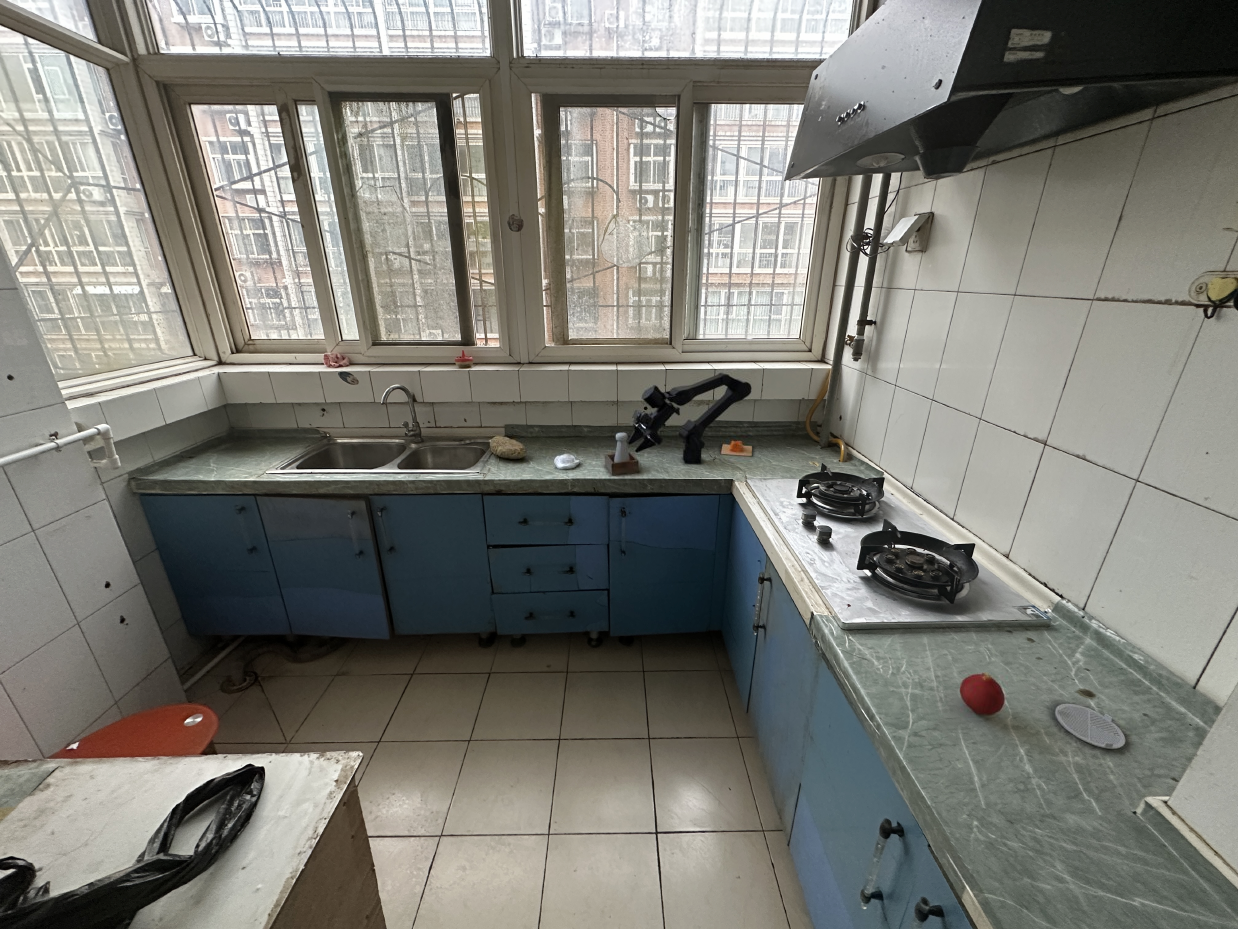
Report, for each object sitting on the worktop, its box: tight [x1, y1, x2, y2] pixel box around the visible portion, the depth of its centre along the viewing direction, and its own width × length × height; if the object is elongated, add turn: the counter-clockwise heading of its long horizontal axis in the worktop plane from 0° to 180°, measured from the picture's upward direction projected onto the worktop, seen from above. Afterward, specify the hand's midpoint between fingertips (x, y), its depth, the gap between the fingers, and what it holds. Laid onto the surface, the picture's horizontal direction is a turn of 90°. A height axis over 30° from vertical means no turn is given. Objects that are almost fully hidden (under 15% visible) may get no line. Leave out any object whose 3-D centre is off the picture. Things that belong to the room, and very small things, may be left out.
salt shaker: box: [614, 432, 630, 462], centre depth 183 cm, size 6×6×13 cm
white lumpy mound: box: [553, 453, 581, 470], centre depth 189 cm, size 10×4×10 cm
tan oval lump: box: [489, 435, 527, 460], centre depth 199 cm, size 13×8×20 cm
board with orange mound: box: [720, 440, 753, 457], centre depth 203 cm, size 12×12×4 cm
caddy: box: [604, 451, 640, 476], centre depth 185 cm, size 10×10×5 cm
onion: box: [959, 672, 1006, 716], centre depth 81 cm, size 6×6×8 cm
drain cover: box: [1054, 703, 1126, 750], centre depth 79 cm, size 8×8×1 cm
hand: (632, 447), depth 184 cm, fingers open, 9 cm apart
